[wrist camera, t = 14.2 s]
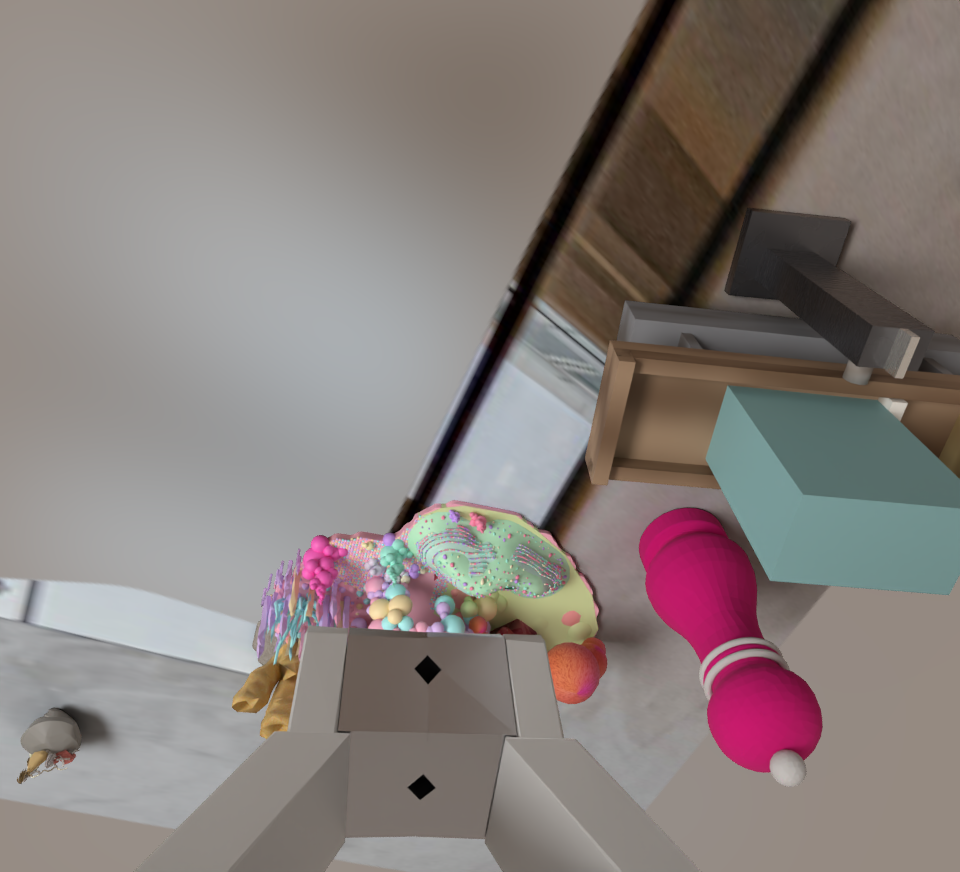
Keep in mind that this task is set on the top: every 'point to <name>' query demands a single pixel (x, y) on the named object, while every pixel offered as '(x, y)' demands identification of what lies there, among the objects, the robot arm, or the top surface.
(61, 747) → the figurine
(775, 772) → the pepper mill
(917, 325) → the fulcrum
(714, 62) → the top surface
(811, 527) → the teal rectangular block
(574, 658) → the candy landscape model
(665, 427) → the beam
